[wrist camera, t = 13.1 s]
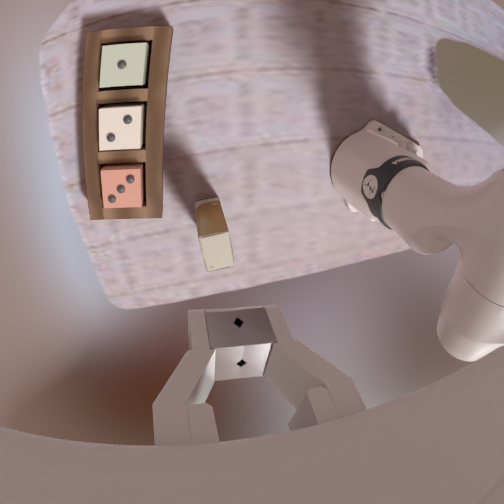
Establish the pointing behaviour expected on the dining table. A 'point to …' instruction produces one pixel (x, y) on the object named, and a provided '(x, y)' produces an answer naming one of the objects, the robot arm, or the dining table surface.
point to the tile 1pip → (124, 64)
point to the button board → (152, 94)
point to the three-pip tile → (123, 184)
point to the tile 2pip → (122, 126)
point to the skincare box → (213, 235)
